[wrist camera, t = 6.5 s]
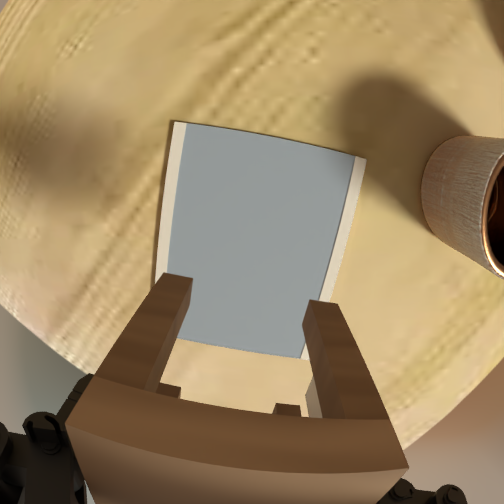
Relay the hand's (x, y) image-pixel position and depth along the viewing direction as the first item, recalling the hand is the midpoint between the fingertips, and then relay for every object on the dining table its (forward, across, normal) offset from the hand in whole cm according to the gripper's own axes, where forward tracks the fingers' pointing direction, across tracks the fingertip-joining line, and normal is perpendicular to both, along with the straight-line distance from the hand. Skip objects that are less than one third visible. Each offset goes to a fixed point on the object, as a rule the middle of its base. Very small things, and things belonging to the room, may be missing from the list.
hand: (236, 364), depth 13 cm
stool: (0, 0, 0) cm, 0 cm away
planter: (+16, +19, +10) cm, 27 cm away
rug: (+15, 0, 0) cm, 15 cm away
